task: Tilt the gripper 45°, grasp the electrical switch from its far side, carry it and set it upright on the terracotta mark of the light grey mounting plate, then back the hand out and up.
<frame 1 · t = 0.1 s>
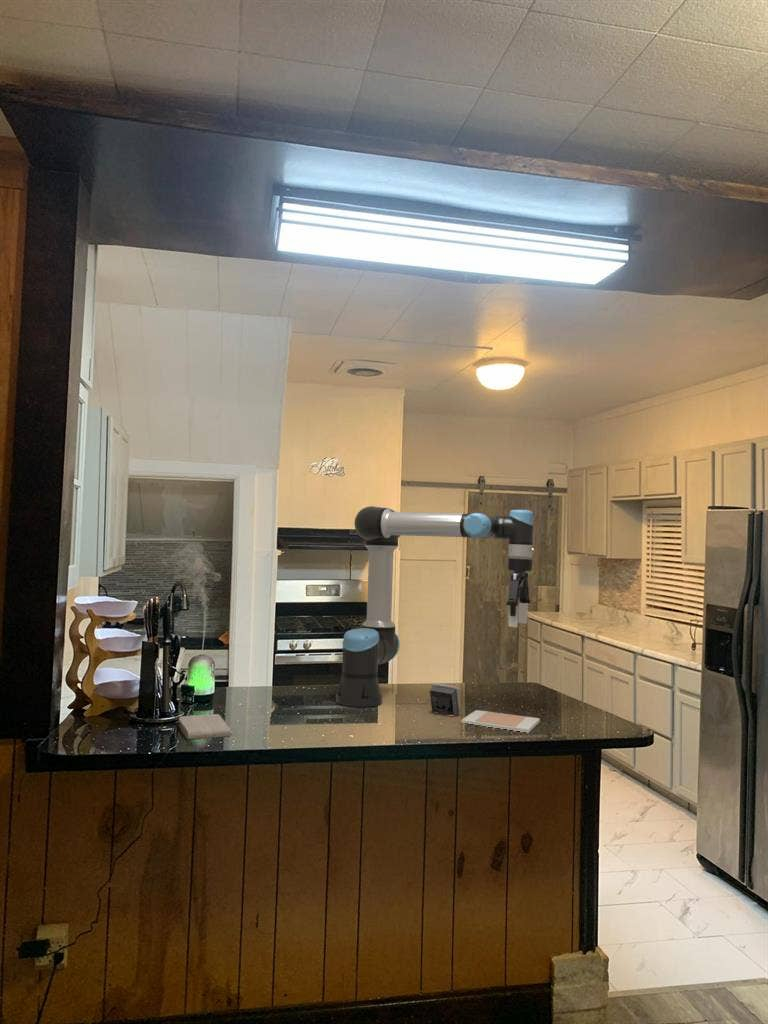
hand: (518, 625, 228), 28 cm above the table, tool pointing down, fingers open, 13 cm apart
washcloth: (203, 732, 196), on the table
mounting plate: (500, 722, 214), on the table
electrical switch: (445, 715, 223), on the table
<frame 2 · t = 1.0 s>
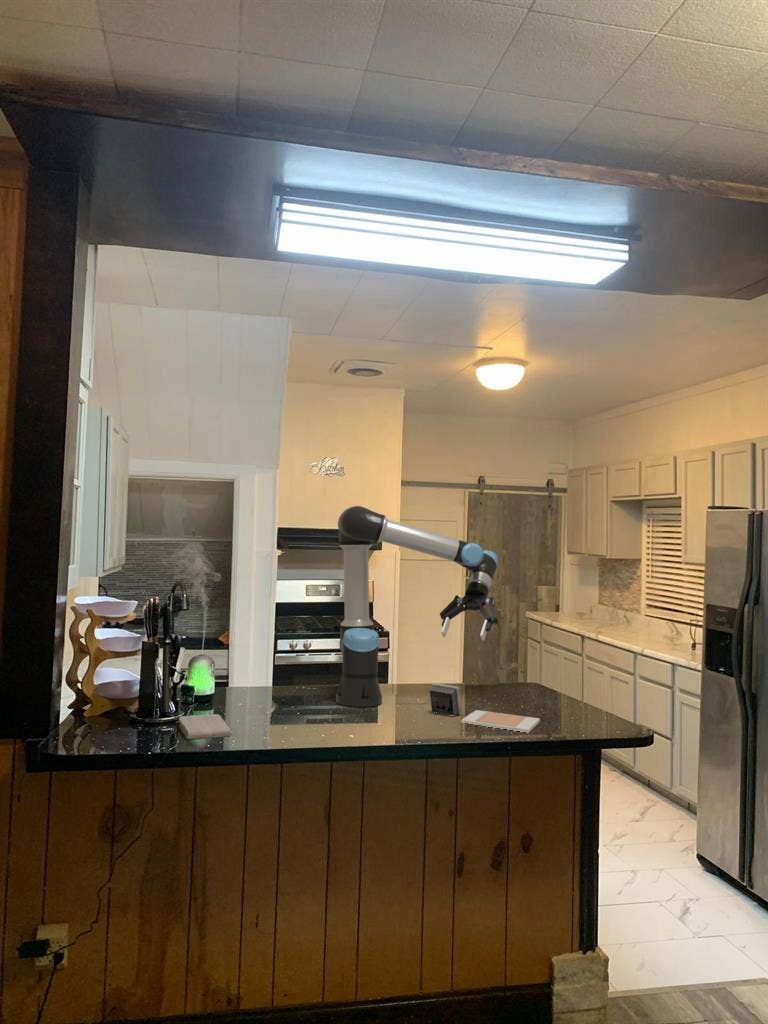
hand: (462, 636, 235), 23 cm above the table, tool tilted 45°, fingers open, 13 cm apart
nothing on the table moved.
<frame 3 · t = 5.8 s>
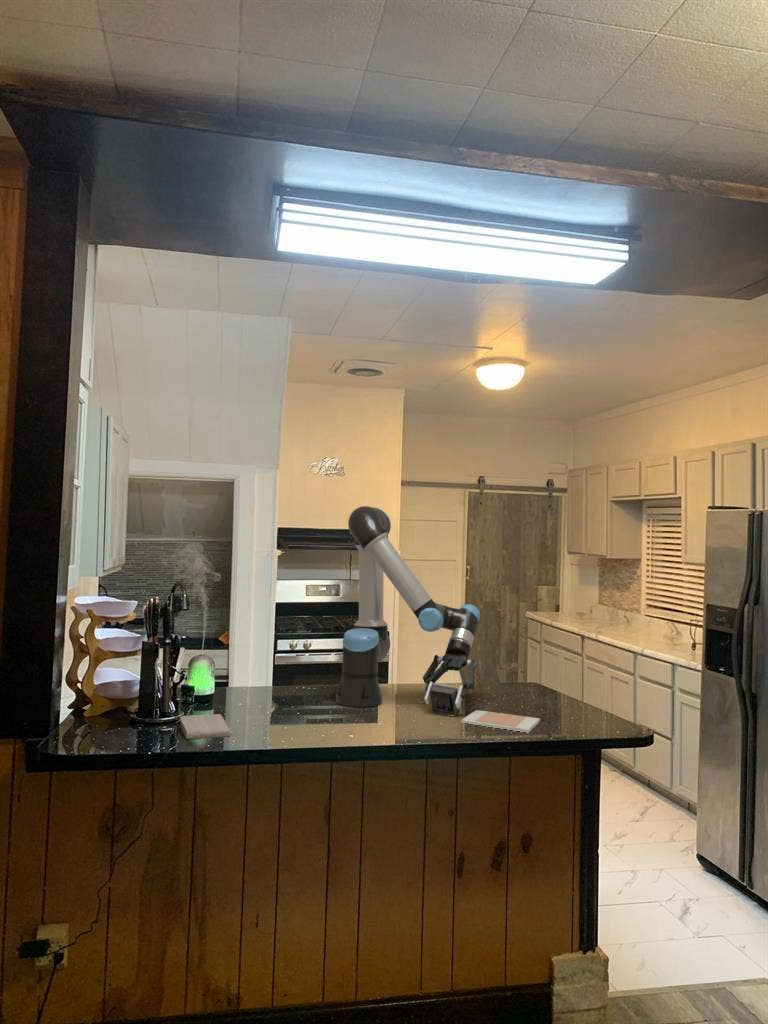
hand: (441, 703, 220), 4 cm above the table, tool tilted 45°, fingers closed on electrical switch, 9 cm apart
electrical switch: (445, 714, 223), on the table, touching gripper
everything else where it was.
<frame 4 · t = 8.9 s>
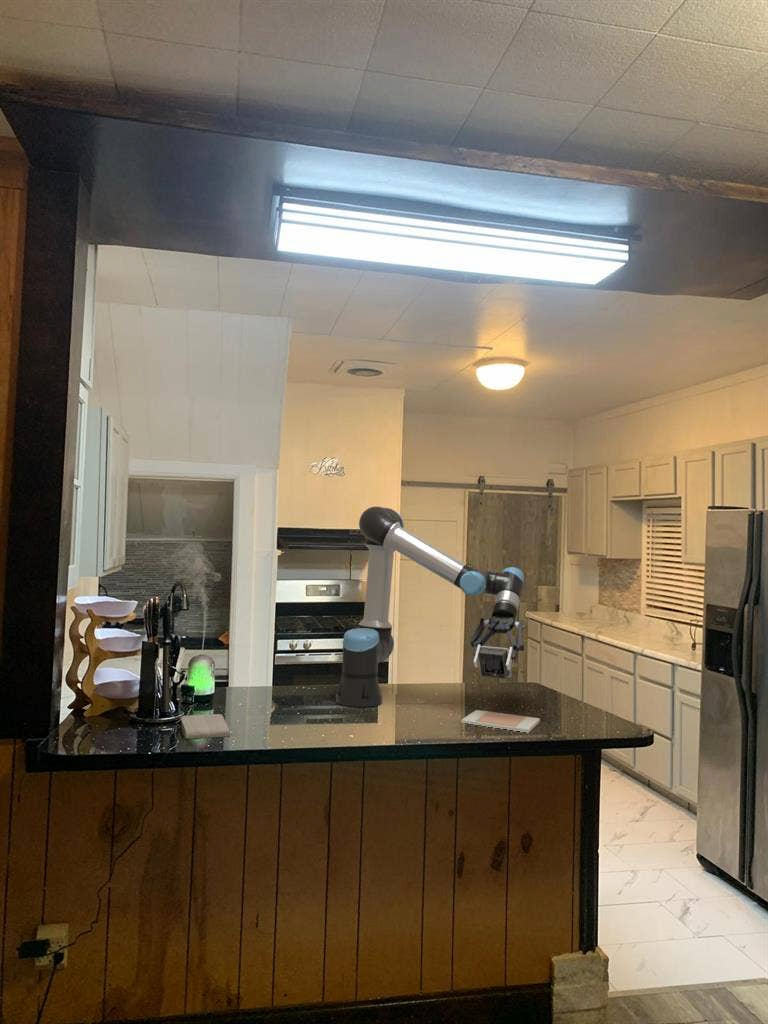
hand: (491, 665, 214), 17 cm above the table, tool tilted 45°, fingers closed on electrical switch, 9 cm apart
electrical switch: (495, 677, 216), point 13 cm above the table, touching gripper
everything else where it was.
when the fingers open (6 cm above the table, at t = 11.9 s): electrical switch drops 1 cm, resting on mounting plate.
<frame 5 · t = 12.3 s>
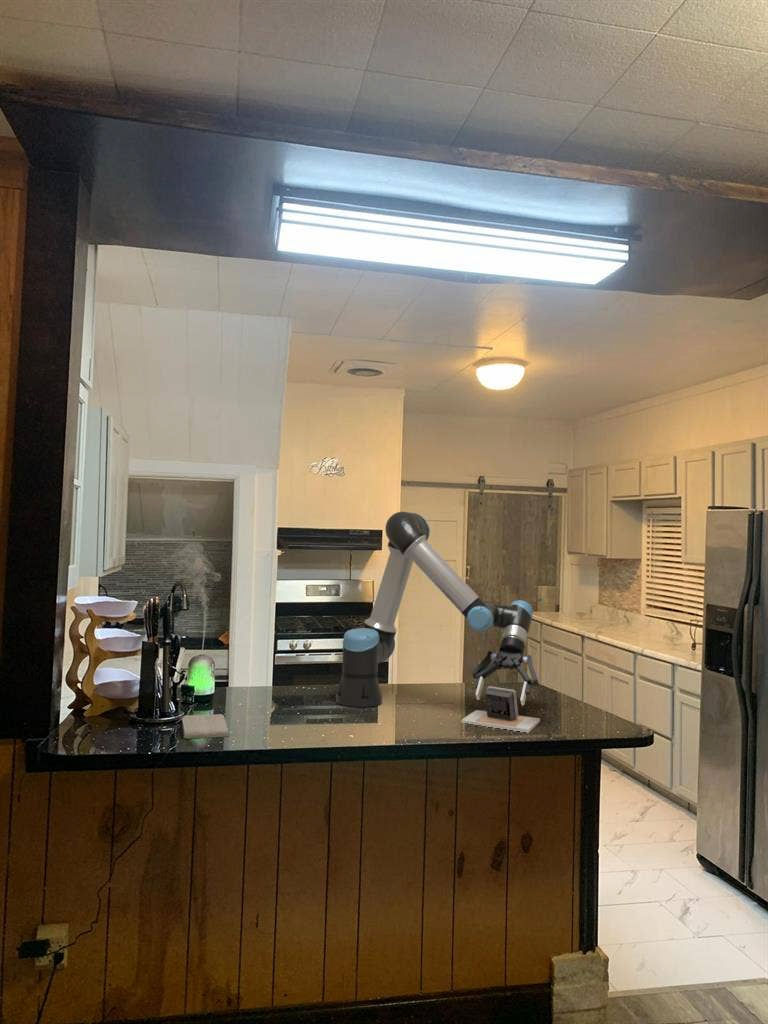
hand: (499, 700, 212), 7 cm above the table, tool tilted 45°, fingers open, 13 cm apart
electrical switch: (501, 719, 214), point 1 cm above the table, touching mounting plate
everything else where it was.
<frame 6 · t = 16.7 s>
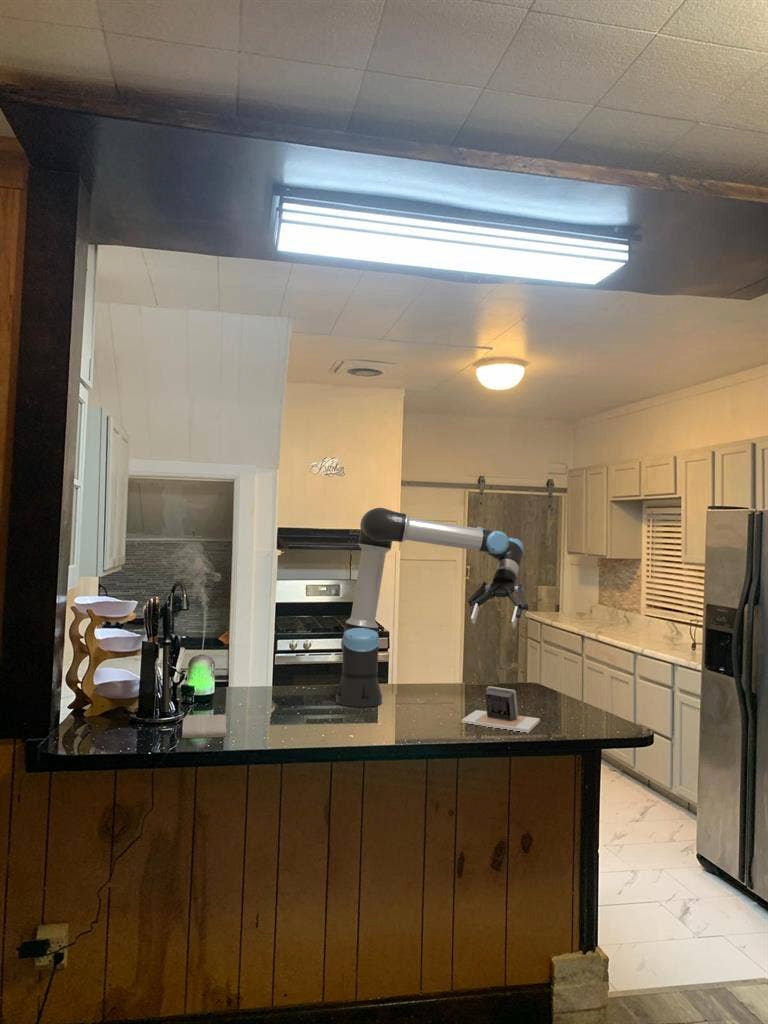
hand: (492, 622, 234), 28 cm above the table, tool tilted 45°, fingers open, 13 cm apart
nothing on the table moved.
at the end: electrical switch inside the target area on the mounting plate (0.1 cm from its centre), point 1.0 cm above the mounting plate's base; electrical switch tilted 0°; the gripper is holding nothing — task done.
